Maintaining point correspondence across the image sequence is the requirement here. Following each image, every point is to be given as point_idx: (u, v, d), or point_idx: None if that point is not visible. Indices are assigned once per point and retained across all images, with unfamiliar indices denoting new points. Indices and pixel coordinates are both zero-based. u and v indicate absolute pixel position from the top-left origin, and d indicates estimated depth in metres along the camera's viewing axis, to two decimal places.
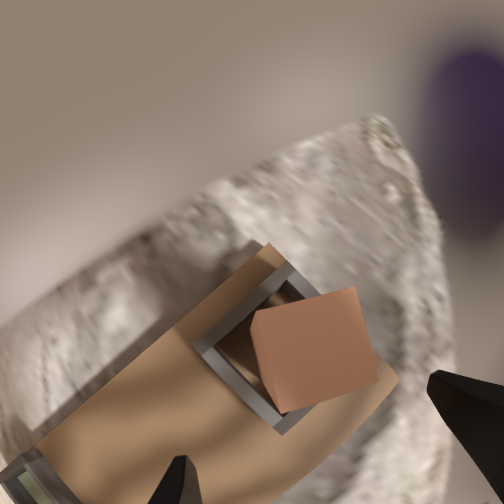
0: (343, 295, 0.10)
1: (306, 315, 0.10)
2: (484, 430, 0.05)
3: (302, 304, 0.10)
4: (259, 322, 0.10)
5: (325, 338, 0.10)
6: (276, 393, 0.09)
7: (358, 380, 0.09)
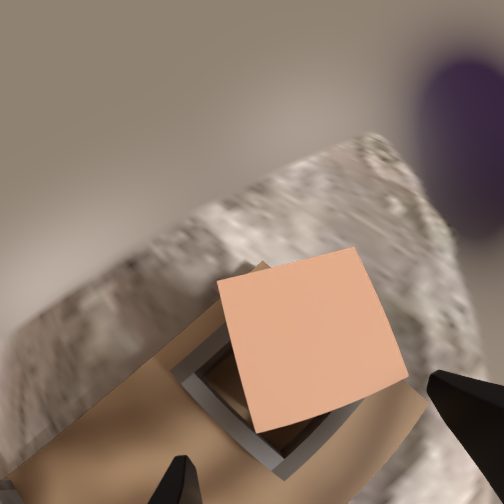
0: (340, 258, 0.08)
1: (289, 284, 0.07)
2: (484, 430, 0.05)
3: (282, 270, 0.07)
4: (221, 296, 0.07)
5: (320, 316, 0.07)
6: (248, 401, 0.06)
7: (378, 377, 0.06)
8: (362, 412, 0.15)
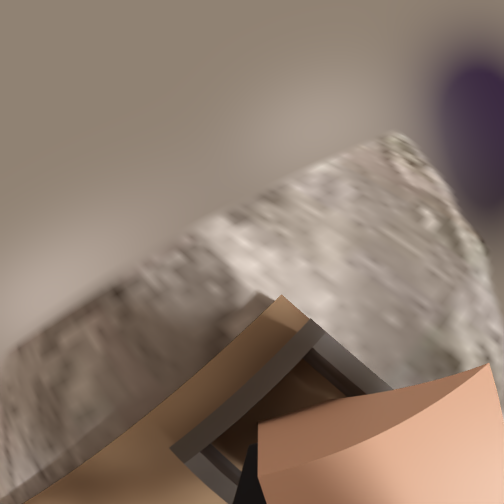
0: (472, 391, 0.03)
1: (396, 465, 0.03)
2: None
3: (388, 441, 0.03)
4: (269, 501, 0.02)
5: (435, 498, 0.02)
6: None
7: None
8: None
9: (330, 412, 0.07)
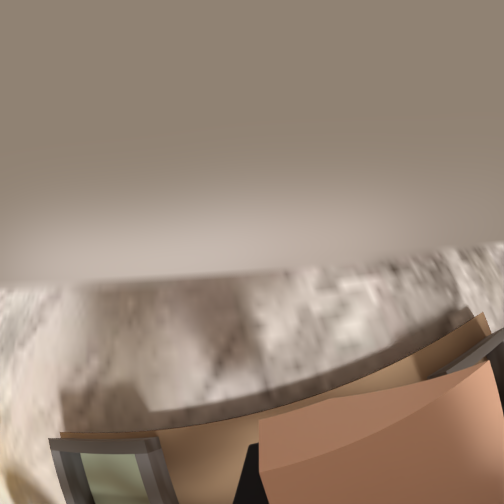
0: (473, 387, 0.03)
1: (397, 461, 0.03)
2: None
3: (389, 437, 0.03)
4: (270, 498, 0.02)
5: (436, 495, 0.02)
6: None
7: None
8: None
9: (331, 410, 0.07)
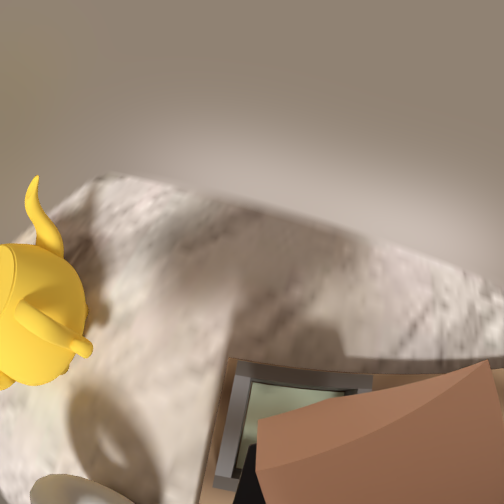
0: (471, 387, 0.03)
1: (395, 460, 0.03)
2: None
3: (387, 437, 0.03)
4: (267, 497, 0.02)
5: (434, 496, 0.02)
6: None
7: None
8: None
9: (329, 410, 0.07)
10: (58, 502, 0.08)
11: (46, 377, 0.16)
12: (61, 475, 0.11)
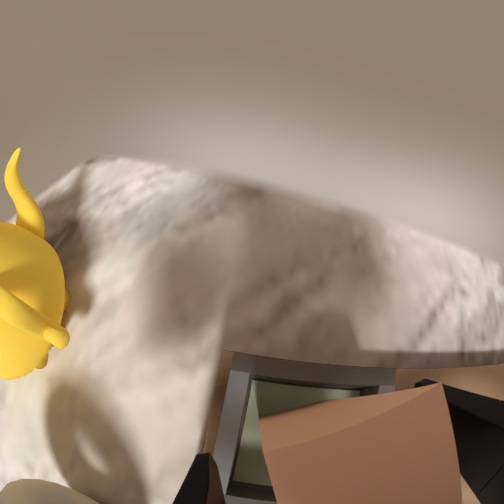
0: (425, 402, 0.04)
1: (360, 451, 0.04)
2: (469, 443, 0.05)
3: (354, 433, 0.04)
4: (270, 471, 0.04)
5: (392, 481, 0.04)
6: None
7: None
8: None
9: (321, 411, 0.09)
10: None
11: (19, 370, 0.13)
12: (34, 480, 0.09)
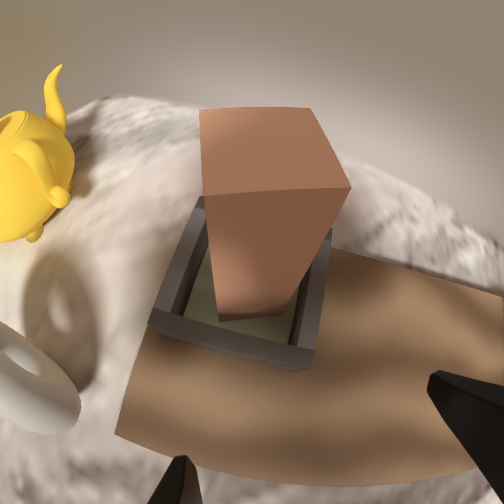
0: (297, 111, 0.09)
1: (252, 116, 0.09)
2: (484, 430, 0.05)
3: (250, 109, 0.09)
4: (200, 117, 0.09)
5: (274, 134, 0.08)
6: (203, 174, 0.07)
7: (320, 179, 0.07)
8: None
9: None
10: None
11: (18, 225, 0.17)
12: None
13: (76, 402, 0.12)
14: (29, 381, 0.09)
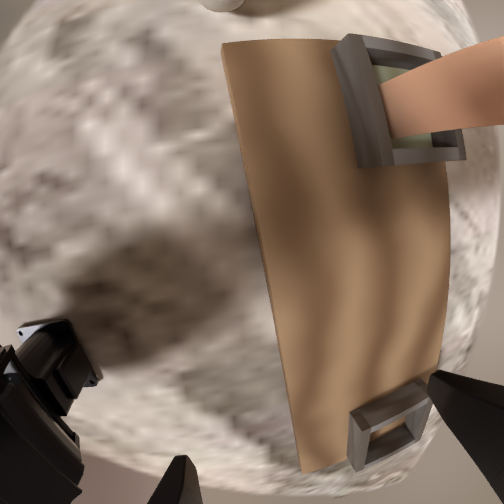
0: None
1: None
2: (484, 430, 0.05)
3: None
4: None
5: None
6: (502, 36, 0.05)
7: None
8: (336, 449, 0.24)
9: None
10: None
11: None
12: None
13: (241, 2, 0.12)
14: None
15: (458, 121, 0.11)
